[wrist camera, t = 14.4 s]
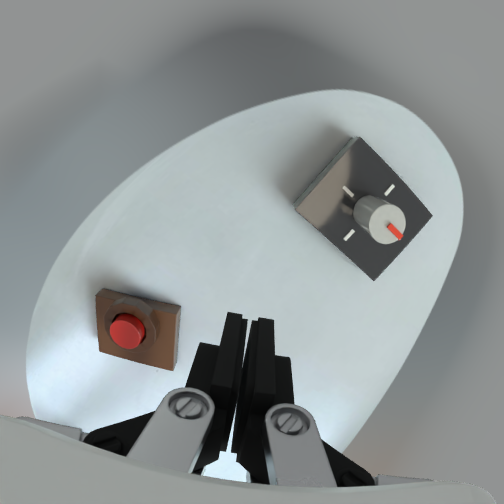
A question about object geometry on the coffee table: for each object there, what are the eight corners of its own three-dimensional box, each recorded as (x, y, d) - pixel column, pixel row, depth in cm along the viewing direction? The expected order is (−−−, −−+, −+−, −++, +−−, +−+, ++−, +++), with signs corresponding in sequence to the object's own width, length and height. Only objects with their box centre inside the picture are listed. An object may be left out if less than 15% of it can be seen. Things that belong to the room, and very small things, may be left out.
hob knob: (346, 214, 32) (361, 227, 26) (368, 187, 31) (388, 196, 25) (370, 236, 32) (388, 253, 27) (391, 210, 31) (414, 223, 26)
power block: (105, 343, 42) (93, 358, 38) (102, 281, 39) (88, 294, 35) (176, 361, 42) (169, 379, 38) (181, 299, 39) (173, 314, 35)
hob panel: (292, 204, 35) (294, 209, 32) (352, 137, 32) (360, 136, 29) (366, 271, 37) (374, 282, 34) (421, 210, 34) (433, 216, 31)
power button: (115, 337, 37) (110, 344, 35) (114, 309, 36) (108, 316, 34) (144, 344, 37) (140, 352, 35) (145, 317, 36) (140, 324, 34)
